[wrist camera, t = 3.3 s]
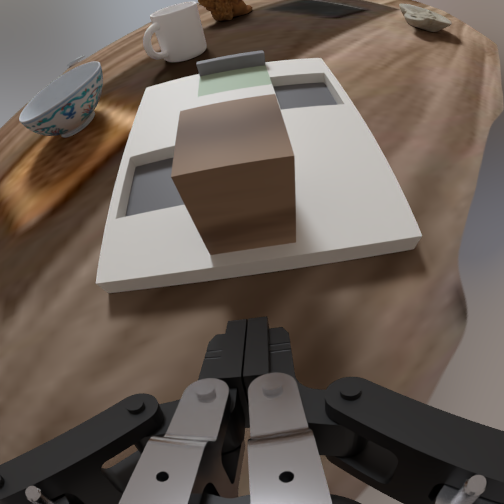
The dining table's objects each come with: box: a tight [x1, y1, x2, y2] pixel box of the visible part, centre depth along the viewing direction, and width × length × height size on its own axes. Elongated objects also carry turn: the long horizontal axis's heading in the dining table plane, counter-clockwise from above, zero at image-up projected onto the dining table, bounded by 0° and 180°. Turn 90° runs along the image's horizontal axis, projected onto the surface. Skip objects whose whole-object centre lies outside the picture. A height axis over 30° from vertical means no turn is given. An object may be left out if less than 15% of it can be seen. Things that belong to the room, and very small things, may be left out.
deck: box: [96, 50, 422, 293], centre depth 27 cm, size 30×25×4 cm
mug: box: [143, 2, 206, 63], centre depth 40 cm, size 12×8×10 cm
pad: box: [198, 65, 272, 97], centre depth 34 cm, size 7×9×2 cm
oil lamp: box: [399, 4, 452, 32], centre depth 45 cm, size 21×14×5 cm
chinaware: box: [19, 61, 103, 138], centre depth 35 cm, size 15×15×8 cm
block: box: [171, 94, 296, 255], centre depth 19 cm, size 6×6×8 cm
